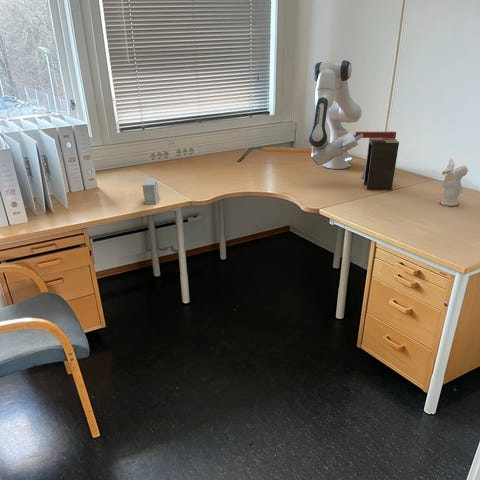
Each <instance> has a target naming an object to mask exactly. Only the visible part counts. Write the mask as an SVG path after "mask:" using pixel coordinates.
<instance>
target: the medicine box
mask: <svg viewBox="0 0 480 480" xmlns="http://www.w3.org/2000/svg"><path fill="white" fill-rule="evenodd" d="M365 170H366V163H364V164H363V167H362V176H361V179H363V180H364V178H365Z"/></svg>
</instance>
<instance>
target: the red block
mask: <svg viewBox="0 0 480 480" xmlns="http://www.w3.org/2000/svg"><path fill="white" fill-rule="evenodd" d="M361 133H362V134H363V137H362V138H361V139H369V138H395V139H397V131H355V133H354V134H355V137H357V136H358V135H359V134H361Z"/></svg>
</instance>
